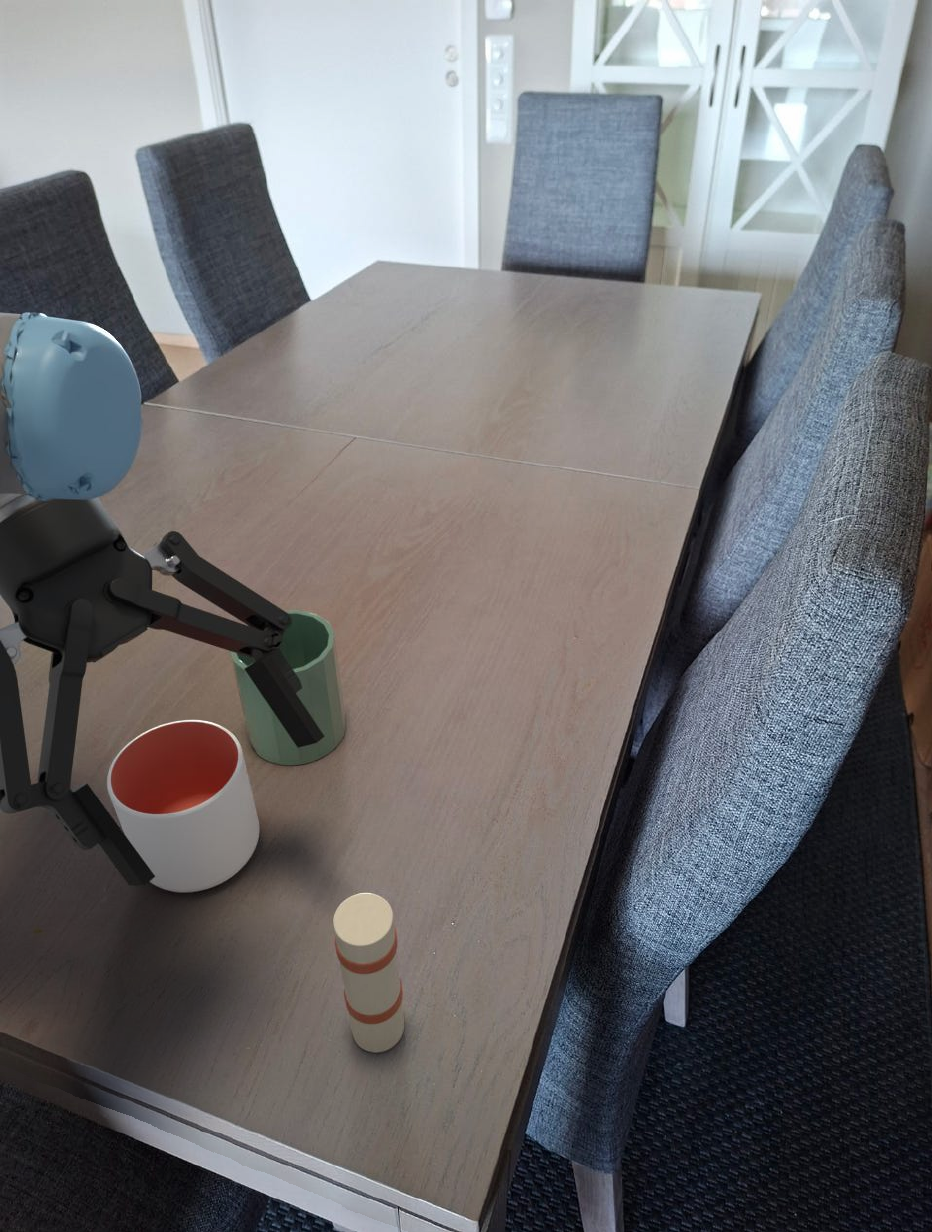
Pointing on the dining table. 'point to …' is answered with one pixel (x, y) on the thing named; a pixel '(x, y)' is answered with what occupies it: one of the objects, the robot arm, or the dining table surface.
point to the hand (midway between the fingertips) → (233, 806)
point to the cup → (186, 803)
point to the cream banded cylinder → (370, 970)
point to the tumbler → (321, 693)
